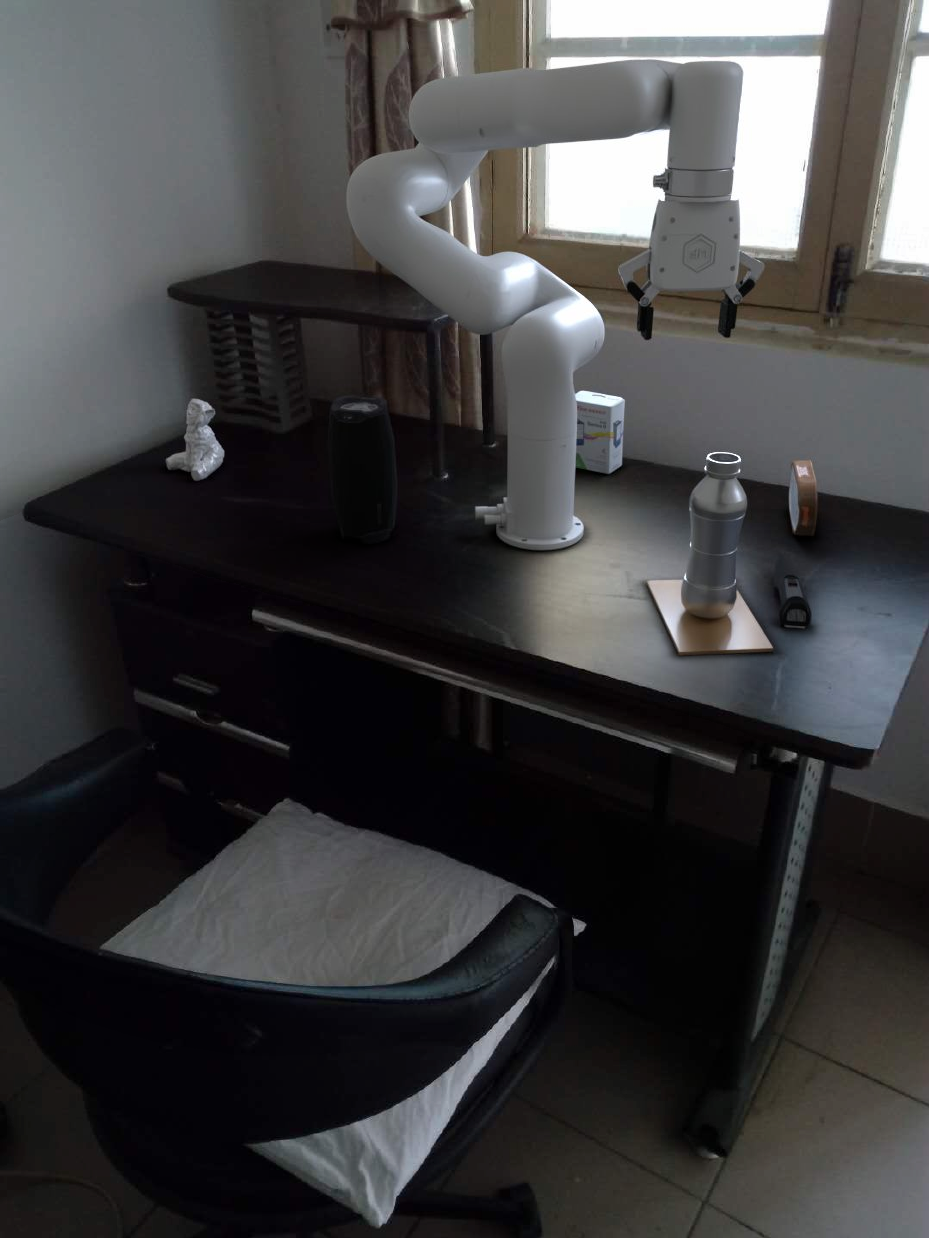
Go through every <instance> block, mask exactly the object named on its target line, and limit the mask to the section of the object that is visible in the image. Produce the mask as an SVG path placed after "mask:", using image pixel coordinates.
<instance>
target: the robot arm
mask: <svg viewBox="0 0 929 1238" xmlns="http://www.w3.org/2000/svg"><path fill="white" fill-rule="evenodd" d="M742 67H743V66H741V65H740V64H739V63H737V62H736V61H729V60H700V61H688V62H685V63H681V62H673V61H668V60H662V59H655V58H653V59H652V58H650V59H649V58H647V59H626V60H625V59H623V60H616V61H608V62H601V63H600V62H599V63H592V64H583V65H576V66H575V65H573V66H566V67H558V68H557V67H556V68H547V69H538V68H535V67H522V68H516V69H515V68H514V69H507V70H500V71H499V70H498V71H491V72H481V73H473V74H464V75H456V76H448V77H447V76H446V77H440V78H436V79H433V80H431V81H428V82H427V83H425V84H423V85H422V86H421V87H420V88H419V89H417V91H416V92H415V94H414V95H413V97H412V99H411V101H410V104H409V108H408V123H409V127H410V130H411V133H412V135H413V136H414V138H415V139H416V141H417V142H418V143H417V145H416V146H415V147H414V148H409V149H402V150H401V149H400V150H396V151H388V152H383V153H380V154H377V155H374V156H371V157H369V158H367V159H365V160H363V162H361V163H360V164H359V165H358V166H357V167H356V168H355V169H354V171H352V173H351V175H350V177H349V179H348V183H347V187H346V200H345V201H346V208H347V215H348V218H349V222H350V225H351V227H352V229H353V232H354V234H355V236H356V238H357V240H358V241H359V243H360V244H361V246H362V247H363V249H365V251H366V252H367V253H368V254H369V255H370V256H371V257H372V258H373V259H374V260H375V261H376V262H378V263H379V264H380V265H381V266H383V267H384V268H385V269H387V270H388V271H390V273H393V275H395V276H396V277H397V278H399V279H401V280H402V281H403V282H405V283H406V284H407V285H409V286H410V287H411V288H412V289H414V290H415V291H417V292H418V293H419V294H420V295H421V296H423V298H425V299H426V300H428V301H429V302H430V303H431V304H433V305H434V306H435V307H436V308H438V309H439V310H440V311H442V313H444V314H446V315H447V316H449V317H450V318H451V319H452V320H454V321H455V322H456V323H457V324H459V325H460V326H461V327H462V328H464V329H465V330H467V331H468V332H470V333H472V334H474V335H481V336H485V335H489V334H493V333H496V332H498V331H500V330H503V329H505V328H507V327H509V326H510V327H509V329H508V331H507V332H506V334H505V335H504V338H503V342H502V347H501V366H502V372H503V377H504V382H505V383H504V384H505V392H506V410H507V411H506V412H507V415H506V420H507V422H506V423H507V424H506V425H507V427H506V429H507V463H506V464H507V469H506V471H507V473H506V476H507V477H506V479H507V480H506V484H507V485H506V487H507V488H506V491H507V493H506V496H505V497H503V502H502V503H497V504H496V506H487V505H486V506H480V505H479V506H475V507H474V519H475V520H476V521H480V520H481V521H483V520H484V525H485V526H491V525H492V526H493V525H496V528H495V531H496V536H497V537H498V539H500V541H503V542H504V543H505V544H507V545H509V546H512V547H515V548H519V549H523V550H528V551H529V550H530V551H553V550H560V549H563V548H567V547H570V546H572V545H574V544H576V543H578V542H579V541H580V540H581V539H582V537H583V536H584V532H585V531H584V530H585V529H584V526H585V525H584V523H583V521H581V519H580V518H579V517H577V516H576V515H574V507H575V489H576V488H575V483H576V482H575V481H576V467H575V463H576V438H577V403H576V396H575V394H576V392H575V386H574V378H573V377H574V372H575V371H577V370H578V369H579V368H581V367H583V366H585V365H586V364H588V363H589V362H590V361H592V360H593V359H594V358H595V357H596V356H597V355H598V354H599V352H600V351H601V349H602V347H603V344H604V341H605V334H606V333H605V331H606V330H605V324H604V321H603V318H602V316H601V313H600V312H599V311H598V309H597V308H596V307H595V306H594V304H593V303H591V301H590V300H588V299H587V298H586V297H585V296H584V295H582V293H580V292H579V291H577V290H575V289H574V288H573V287H572V286H571V285H569V284H568V283H566V282H565V281H564V280H562V279H561V278H560V277H559V276H557V275H556V274H554V273H553V272H552V271H551V270H549V269H548V268H546V267H545V266H544V265H542V264H541V263H540V262H538V261H537V260H535V259H534V258H531V257H529V256H528V255H525V254H523V253H520V252H515V251H501V252H496V253H494V254H491V255H488V256H487V255H486V256H484V255H480V254H479V253H477V252H476V251H474V250H472V249H470V248H469V247H468V246H466V245H465V244H463V243H462V242H460V240H458V239H457V238H456V237H454V236H453V235H452V234H450V232H448V231H446V230H444V229H442V228H440V227H438V226H436V225H434V224H432V223H430V222H427V221H426V220H424V219H423V218H421V217H423V216H426V215H430V214H433V213H435V212H438V211H440V210H441V209H443V208H444V207H446V206H447V205H448V204H449V203H450V202H451V201H452V200H453V199H454V198H455V196H456V195H457V194H458V192H459V191H460V190H461V188H462V187H463V186H464V185H465V183H466V182H467V180H468V179H469V178H470V177H471V175H472V174H473V173H474V171H475V170H476V169H477V167H478V166H479V164H480V163H481V162H482V160H484V158H485V156H486V155H487V154H488V152H489V151H496V150H511V149H526V148H538V147H540V146H542V145H550V144H565V143H566V144H567V143H577V142H579V143H580V142H591V141H592V142H593V141H594V142H595V141H606V140H618V139H625V138H630V137H634V136H640V135H646V134H651V133H655V132H662V131H663V132H664V131H669V133H668V143H667V158H666V167H664V170H663V172H662V173H660V174H653V176H652V177H653V178H652V187H653V188H659V189H661V190H662V192H663V193H664V195H663V196H660V197H658V199H657V203H656V207H655V211H654V216H653V220H652V226H651V229H650V237H649V244H648V249H646V250H644V251H643V252H641V253H639V254H638V255H636V256H634V257H631V258H630V259H628V260H626V261H625V262H623V263H621V264H619V265H618V267H617V272H618V274H619V276H620V279H621V281H622V283H623V286H624V288H625V290H626V291H627V292H628V293H629V294H630V295H631V296H632V298H634V300H635V301H636V302H637V318H636V330H637V332H638V333H639V332H640V336H641V337H642V338H643V340H644V341H650V340H652V336H653V324H654V312H655V309H654V306H653V305H652V301H654V299H655V298H656V297H657V296H658V295H659V294H660V292H661V291H662V292H699V291H700V292H702V291H703V292H704V291H721V292H722V293H723V294H724V298H722V299H721V301H720V307H719V314H718V315H719V317H718V324H717V326H718V327H717V332H718V333H719V334H720V335H721V336H722V337H723V338H725V339H731V334H732V330H735V328H736V325H737V323H736V322H737V315H738V307H739V306H738V305H739V304H740V303H742V301H743V299H744V297H746V296H747V295H748V294H749V293H750V292H751V291H752V290H753V289H754V288H755V286H756V283H757V282H758V280H759V279H760V277H761V275H762V274H763V272H764V270H765V269H766V265H765V264H764V262H762V261H760V260H758V259H756V258H754V257H753V256H751V255H749V254H748V253H745V252H744V251H742V250H741V249H740V248H741V212H740V211H741V209H740V199H739V197H736V196H734V195H733V185H734V176H735V165H736V155H737V149H738V139H739V138H738V137H739V130H740V120H741V113H742V112H741V111H742V102H743V101H742V100H743V91H744V83H745V81H744V79H745V74H744V69H743V68H742ZM732 195H733V196H732ZM740 264H741V266H744V267H746V268H747V272H746V273H745V276H744V277H743V278H741V280H739V281H738V276H739V268H740ZM644 267H646V269H645V270H646V271H645V272H646V273H645V274H646V279H647V281H646V282H645V283H644V284H643V286H642V287H639V285H638V284H637V283H636V280H635V278H634V273H635V272H636V271H639V270H640V269H642V268H644ZM737 281H738V283H737Z"/></svg>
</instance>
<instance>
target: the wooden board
mask: <svg viewBox="0 0 929 1238" xmlns="http://www.w3.org/2000/svg"><path fill="white" fill-rule="evenodd" d="M683 579H684V578H682V579H681V578H680V579H679V578H678V579H677V578H676V579H654V580H653V579H652V580H646V586H647V588H648V590H649V592H650V595H651V597H652V599H653V601H654V604H655V605H656V608H657V611H658V612H659V614H660V617H661V619H662V621H663V623H664V625H665V628H666V631H667V633H668V634H669V636H670V638H671V641H672V644H673V645H674V648H675V650H676V652H677V654H678V656H699V655H701V656H702V655H724V654H747V653H748V654H749V653H772V652H774V647H773V645H772V643H771V642H770V640H769V638H768V637H767V635H766V633H765V632H764V630H763V629H762V627H761V626H760V624H759V622H758V620H757V619H756V618H755V616H754V615H753V613H752V611H751V609H750V608H749V606H748V605H747V603H746V601H745V600H744V598H743V596H742V594H741V593H740V592H739V590H738V589H737V598H736V601H735V605H734V607H733V609H732V610H731V611H730V612H729V613H728V614H727V615H726V616H724V617H720V618H702V617H698V616H695V615H692V614H690V613H689V612H688V611H687V610H686V609H685V608H684V606H683V604H682V602H681V586H682V582H683Z"/></svg>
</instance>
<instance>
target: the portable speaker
mask: <svg viewBox="0 0 929 1238" xmlns="http://www.w3.org/2000/svg"><path fill="white" fill-rule="evenodd" d="M393 432H394V431H393V428H392V424H391V420H390V415H389V406H388V402H387V400H386V399H384V398H383V397H377V398H373V397H363V396H358V395H353V394H349V395H342V396H340V397H337V398H335V399H333V401H332V403H331V407H330V409H329V421H328V434H327V454H328V455H327V456H328V469H329V480H330V491H331V493H330V494H331V498H332V503H333V507H334V511H335V514H336V518H337V519H336V520H337V522H338V527H339V530H340V535H341V538H342V539H348V537H349V538H350V537H351V538H355V539H360V540H361V542H362V543H363V544H366V545H373V544H378V543H382V542H384V541H386V540H388V539H389V538H390V536H391V533H392V531H393V530H394V528H395V526H396V525H395V524H396V514H397V506H398V476H397V475H398V474H397V460H396V459H397V457H396V445H395V436H394V433H393Z"/></svg>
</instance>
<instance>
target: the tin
mask: <svg viewBox="0 0 929 1238" xmlns="http://www.w3.org/2000/svg"><path fill="white" fill-rule="evenodd" d="M789 484H790V485H789V489H788V511H789V518H790V523H791V524H790V525H791V529H792V533H793V535H795V536H799V537H800V536H801V537H802V536H803V537H806V536H807V537H814V536H815V531H816V526H817V517H818V483H817V478H816V474H815V469H814V466H813V462H812V460H811V459H807V460H804V459H803V460H793V461H792V462H791V465H790V483H789Z"/></svg>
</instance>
